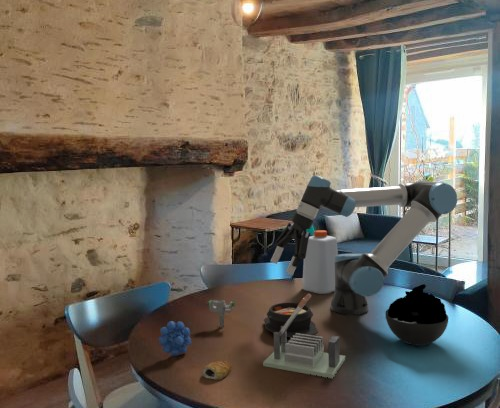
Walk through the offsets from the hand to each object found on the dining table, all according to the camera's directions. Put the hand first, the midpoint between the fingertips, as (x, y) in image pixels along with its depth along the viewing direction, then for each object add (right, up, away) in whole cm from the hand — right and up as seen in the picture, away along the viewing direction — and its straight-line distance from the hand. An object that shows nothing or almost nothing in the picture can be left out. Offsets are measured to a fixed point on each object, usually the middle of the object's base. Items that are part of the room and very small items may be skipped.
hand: (281, 268), depth 180 cm
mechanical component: (-22, -23, +4) cm, 32 cm away
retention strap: (+2, -12, -29) cm, 32 cm away
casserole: (+3, -23, -1) cm, 23 cm away
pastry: (-21, -27, -35) cm, 49 cm away
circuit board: (+5, -26, -29) cm, 39 cm away
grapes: (-35, -26, -22) cm, 49 cm away
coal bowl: (+45, -23, -16) cm, 53 cm away
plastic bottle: (+22, -17, +50) cm, 57 cm away
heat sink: (+6, -24, -29) cm, 39 cm away
